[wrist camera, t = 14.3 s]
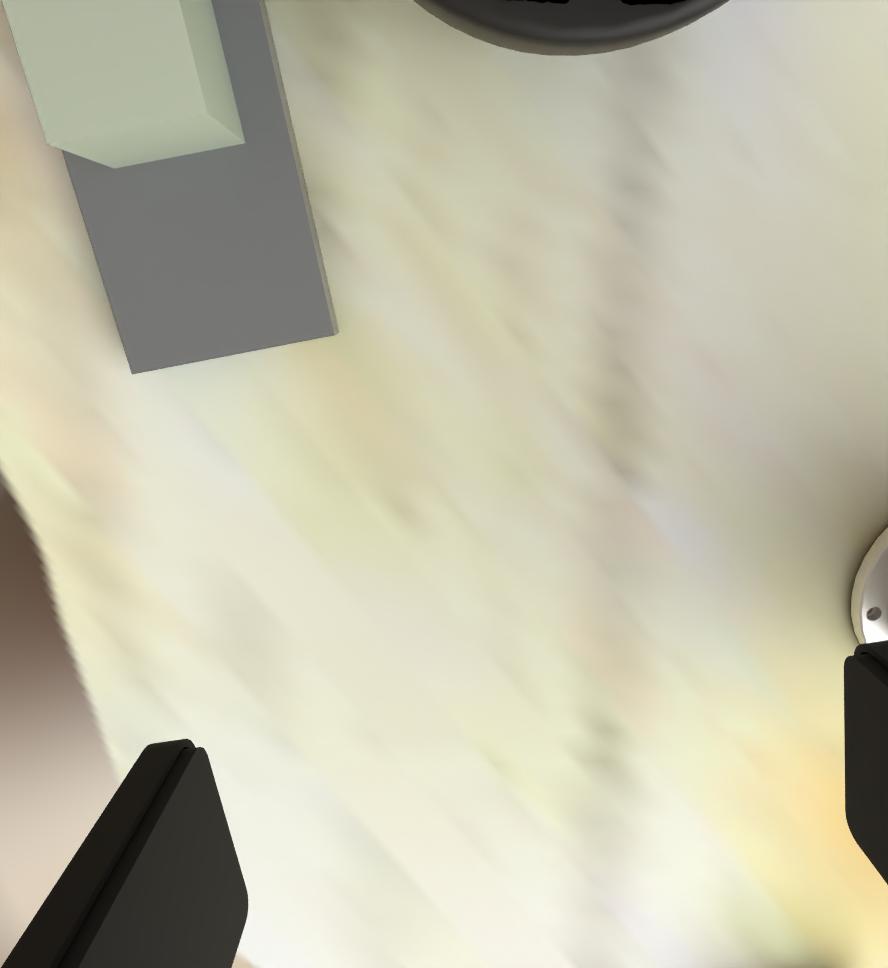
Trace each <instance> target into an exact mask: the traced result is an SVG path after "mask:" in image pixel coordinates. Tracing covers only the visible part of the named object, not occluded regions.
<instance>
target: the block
mask: <svg viewBox="0 0 888 968" xmlns="http://www.w3.org/2000/svg"><path fill="white" fill-rule="evenodd" d="M2 2H3V6H4V9H5V12H6V15H7V18H8V22H9V25H10V28H11V31H12V34H13V38H14V41H15V44H16V47H17V50H18V53H19V57H20V60H21V63H22V66H23V69H24V73H25V76H26V79H27V82H28V85H29V89H30V92H31V95H32V98H33V101H34V104H35V108H36V111H37V114H38V117H39V120H40V124H41V127H42V130H43V133H44V136H45V140H46V143H47V144H48V145H51V146H54V147H56V148H59V149H62V150H65V151H67V152H70V153H73V154H76V155H78V156H81V157H84V158H86V159H89V160H92V161H95V162H97V163H100V164H103V165H106V166H108V167H111V168H114V169H115V168H120V167H125V166H130V165H136V164H141V163H146V162H151V161H156V160H161V159H167V158H172V157H177V156H182V155H187V154H192V153H198V152H203V151H208V150H213V149H218V148H223V147H229V146H234V145H239V144H244V143H245V139H244V135H243V131H242V127H241V123H240V118H239V114H238V110H237V106H236V102H235V98H234V93H233V89H232V85H231V81H230V77H229V73H228V68H227V64H226V60H225V56H224V52H223V48H222V43H221V39H220V35H219V31H218V27H217V23H216V18H215V14H214V10H213V6H212V2H211V0H2Z"/></svg>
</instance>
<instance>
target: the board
mask: <svg viewBox="0 0 888 968" xmlns="http://www.w3.org/2000/svg"><path fill="white" fill-rule="evenodd" d="M211 2H212V6H213V10H214V14H215V18H216V23H217V27H218V31H219V35H220V39H221V43H222V48H223V52H224V56H225V60H226V64H227V68H228V73H229V77H230V81H231V85H232V89H233V93H234V98H235V102H236V106H237V110H238V114H239V118H240V123H241V127H242V131H243V135H244V139H245V143H244V144H239V145H234V146H229V147H223V148H218V149H213V150H208V151H203V152H198V153H192V154H187V155H182V156H177V157H172V158H167V159H161V160H156V161H151V162H146V163H141V164H136V165H130V166H125V167H120V168H115V169H114V168H111V167H108V166H106V165H103V164H100V163H97V162H95V161H92V160H89V159H86V158H84V157H81V156H78V155H76V154H73V153H70V152H67V151H65V150H62V152H63V155H64V158H65V162H66V165H67V168H68V171H69V174H70V178H71V181H72V184H73V187H74V190H75V194H76V197H77V200H78V203H79V206H80V210H81V213H82V216H83V219H84V222H85V226H86V229H87V232H88V235H89V238H90V241H91V245H92V248H93V251H94V254H95V257H96V261H97V264H98V267H99V270H100V273H101V277H102V280H103V283H104V286H105V289H106V293H107V296H108V299H109V302H110V305H111V309H112V312H113V315H114V318H115V321H116V325H117V328H118V331H119V334H120V337H121V341H122V344H123V347H124V350H125V353H126V357H127V360H128V363H129V366H130V369H131V373H132V374H136V373H142V372H147V371H152V370H157V369H162V368H167V367H173V366H178V365H183V364H188V363H193V362H198V361H203V360H209V359H214V358H219V357H224V356H229V355H234V354H240V353H245V352H250V351H255V350H260V349H265V348H271V347H276V346H281V345H286V344H291V343H296V342H302V341H307V340H312V339H317V338H322V337H327V336H332V335H335V334H337V333H338V332H339V331H338V326H337V322H336V317H335V313H334V308H333V304H332V299H331V295H330V291H329V286H328V282H327V277H326V273H325V268H324V264H323V259H322V255H321V251H320V246H319V242H318V237H317V233H316V228H315V224H314V219H313V215H312V211H311V206H310V202H309V197H308V193H307V188H306V184H305V179H304V175H303V171H302V166H301V162H300V157H299V153H298V148H297V144H296V139H295V135H294V131H293V126H292V122H291V117H290V113H289V108H288V104H287V99H286V95H285V91H284V86H283V82H282V77H281V73H280V68H279V64H278V59H277V55H276V51H275V46H274V42H273V37H272V33H271V28H270V24H269V19H268V15H267V10H266V6H265V2H264V0H211Z"/></svg>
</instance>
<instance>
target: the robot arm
mask: <svg viewBox="0 0 888 968" xmlns="http://www.w3.org/2000/svg"><path fill="white" fill-rule="evenodd" d="M851 617H852V622H853V627H854V632H855V634H856V636H857V639H858V641H859V643H860V645H858V646H857V647H856V649H855V652H854V656H848V657H847V658H846V660H845V662H844V720H845V811H846V819H847V823H848V826H849V829H850V831H851V833H852V835H853V838H854V839H855V841H856V842H857V844H858V845H859V847H860V848H861V849H862V851H863V852H864V853H865V855H866V856H867V857H868V859H869V860H870V861H871V863H872V864H873V865H874V867H875V868H876V869H877V871H878V872H879V873H880V875H881V876H882V877H883V879H884V880H885V882H886V883H887V884H888V527H887V528H886V530H885V531H884V532H883V533H882V534H881V535H880V536H879V537H878V538H877V539H876V541H875V542H874V544H873V545H872V547H871V548H870V550H869V551H868V553H867V554H866V556H865V557H864V559H863V562H862V564H861V566H860V569H859V571H858V573H857V575H856V579H855V583H854V587H853V591H852V598H851ZM247 913H248V894H247V889H246V886H245V882H244V879H243V875H242V872H241V868H240V865H239V862H238V858H237V855H236V851H235V848H234V844H233V841H232V838H231V834H230V831H229V827H228V824H227V820H226V817H225V813H224V810H223V807H222V803H221V800H220V796H219V793H218V789H217V786H216V783H215V779H214V776H213V772H212V769H211V765H210V762H209V758H208V755H207V753H206V751H205V750H204V748H202V747H198V748H195V746H194V744H193V743H192V741H191V740H189V739H182V740H175V741H168V742H161V743H154V744H150V745H148V746H147V747H146V748H145V749H144V750H143V752H142V753H141V755H140V756H139V758H138V759H137V761H136V762H135V764H134V765H133V767H132V768H131V770H130V771H129V773H128V774H127V776H126V778H125V779H124V781H123V782H122V784H121V785H120V787H119V788H118V790H117V791H116V793H115V794H114V796H113V797H112V799H111V801H110V802H109V804H108V805H107V807H106V808H105V810H104V811H103V813H102V814H101V816H100V817H99V819H98V820H97V822H96V823H95V825H94V827H93V828H92V829H91V831H90V833H89V834H88V836H87V837H86V839H85V840H84V842H83V843H82V845H81V846H80V848H79V849H78V851H77V852H76V854H75V855H74V857H73V858H72V860H71V862H70V863H69V865H68V866H67V868H66V869H65V871H64V872H63V874H62V875H61V877H60V879H59V880H58V882H57V883H56V884H55V886H54V888H53V889H52V891H51V892H50V894H49V895H48V897H47V898H46V900H45V901H44V903H43V904H42V906H41V907H40V909H39V910H38V912H37V914H36V915H35V917H34V918H33V920H32V921H31V923H30V924H29V926H28V927H27V929H26V930H25V932H24V933H23V935H22V936H21V938H20V939H19V941H18V943H17V944H16V946H15V947H14V949H13V950H12V952H11V953H10V955H9V956H8V958H7V959H6V961H5V962H4V964H3V965H2V967H1V968H231V967H232V964H233V960H234V958H235V954H236V951H237V948H238V945H239V942H240V939H241V935H242V932H243V929H244V926H245V923H246V919H247Z"/></svg>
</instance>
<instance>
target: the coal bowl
mask: <svg viewBox="0 0 888 968" xmlns="http://www.w3.org/2000/svg"><path fill="white" fill-rule="evenodd" d="M414 1H415V2H416V3H418V4H419V5H420V6H421V7H423V8H424V9H425V10H426V11H428V12H429V13H431V14H432V15H434V16H436V17H437V18H439V19H440V20H442V21H444V22H445V23H447V24H448V25H450V26H452V27H454V28H456V29H458V30H460V31H462V32H464V33H466V34H468V35H470V36H472V37H474V38H477V39H480V40H482V41H485V42H488V43H491V44H494V45H496V46H500V47H504V48H508V49H512V50H516V51H520V52H526V53H534V54H542V55H571V56H577V55H587V54H598V53H605V52H610V51H615V50H620V49H624V48H629V47H632V46H635V45H638V44H641V43H644V42H647V41H651V40H654V39H657V38H659V37H662V36H664V35H667V34H669V33H671V32H673V31H675V30H678V29H680V28H682V27H684V26H687V25H689V24H691V23H692V22H694V21H696V20H698V19H699V18H701V17H703V16H705V15H706V14H708V13H710V12H712V11H713V10H715V9H717V8H719V7H720V6H722V5H723V4H725V3H726V2H728V1H729V0H414Z"/></svg>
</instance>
